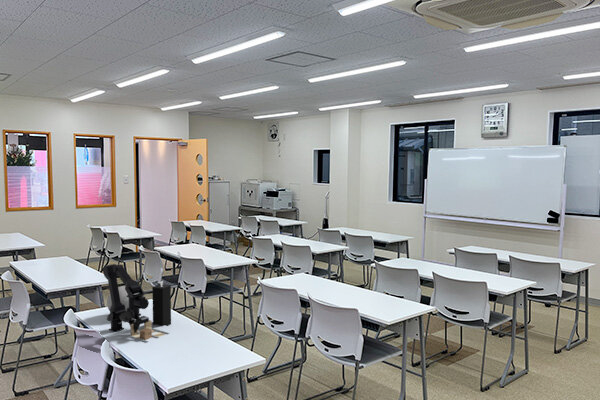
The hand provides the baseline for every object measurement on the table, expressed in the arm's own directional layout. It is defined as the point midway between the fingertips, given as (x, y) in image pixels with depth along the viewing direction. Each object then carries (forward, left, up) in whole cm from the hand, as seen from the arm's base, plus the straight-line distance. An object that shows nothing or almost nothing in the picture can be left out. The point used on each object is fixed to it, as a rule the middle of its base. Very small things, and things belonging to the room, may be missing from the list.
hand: (134, 332), depth 261 cm
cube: (+10, 0, -1) cm, 10 cm away
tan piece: (+6, 0, -3) cm, 6 cm away
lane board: (+8, +4, -3) cm, 10 cm away
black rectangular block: (-2, +22, -3) cm, 22 cm away
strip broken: (+8, +7, -3) cm, 12 cm away
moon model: (-36, +20, -3) cm, 41 cm away
